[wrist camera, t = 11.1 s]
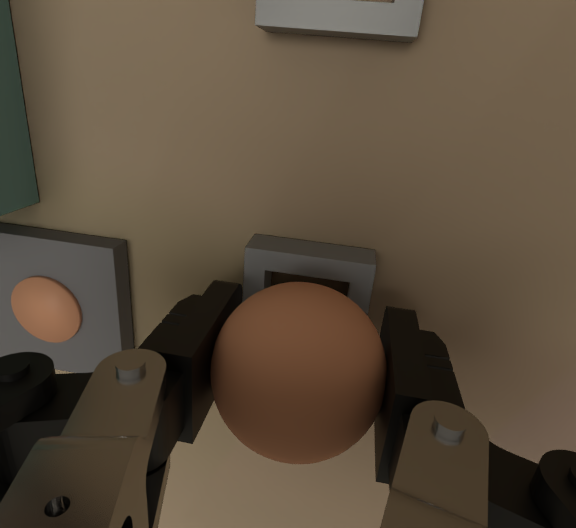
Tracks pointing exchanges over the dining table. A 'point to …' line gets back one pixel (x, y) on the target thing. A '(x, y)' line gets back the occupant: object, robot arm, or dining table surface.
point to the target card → (64, 296)
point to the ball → (298, 372)
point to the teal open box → (13, 127)
